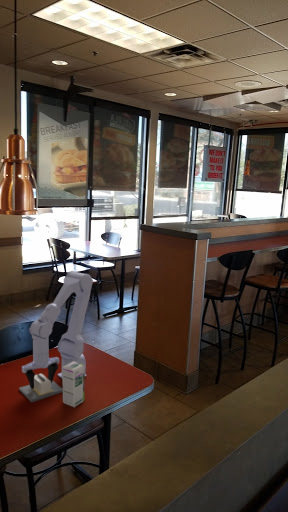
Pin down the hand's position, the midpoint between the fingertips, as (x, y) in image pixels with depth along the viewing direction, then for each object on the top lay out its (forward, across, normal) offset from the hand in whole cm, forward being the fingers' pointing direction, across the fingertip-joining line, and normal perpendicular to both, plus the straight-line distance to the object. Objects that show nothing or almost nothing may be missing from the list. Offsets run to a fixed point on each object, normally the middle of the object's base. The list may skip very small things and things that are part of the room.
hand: (41, 384), depth 154 cm
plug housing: (+2, 0, 0) cm, 2 cm away
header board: (+3, 0, 0) cm, 3 cm away
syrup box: (+3, +6, -14) cm, 16 cm away
